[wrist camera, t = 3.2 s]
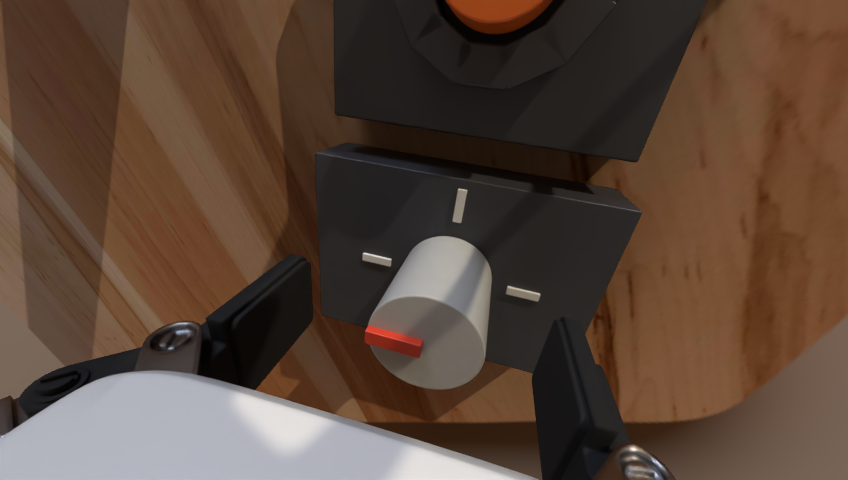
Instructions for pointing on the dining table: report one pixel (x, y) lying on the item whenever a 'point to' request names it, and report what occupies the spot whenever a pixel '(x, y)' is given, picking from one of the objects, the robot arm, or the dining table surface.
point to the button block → (515, 71)
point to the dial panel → (468, 238)
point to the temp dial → (434, 315)
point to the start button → (497, 13)
